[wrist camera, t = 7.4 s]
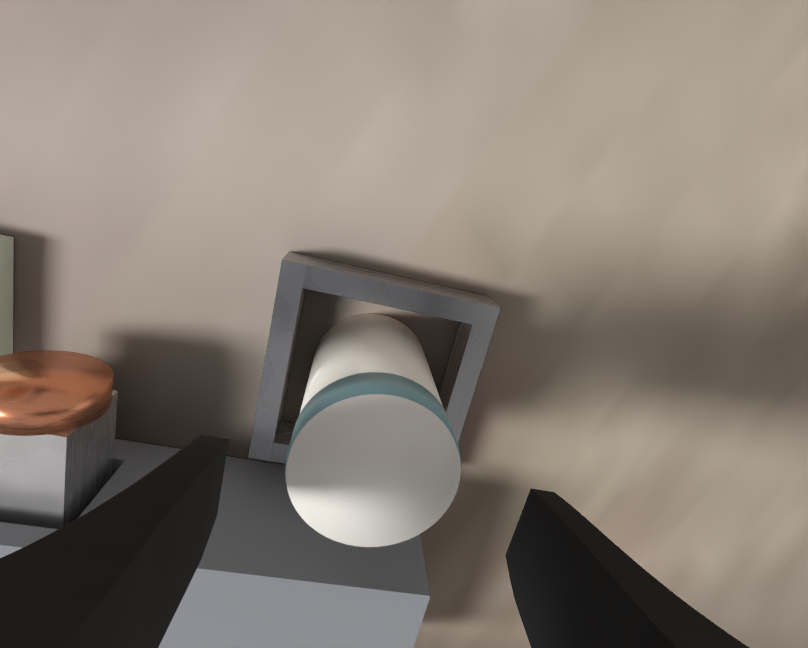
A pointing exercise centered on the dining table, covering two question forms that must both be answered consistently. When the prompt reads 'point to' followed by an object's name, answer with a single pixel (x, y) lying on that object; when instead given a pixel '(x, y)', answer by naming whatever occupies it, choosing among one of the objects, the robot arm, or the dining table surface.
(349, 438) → the cylinder
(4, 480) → the copper knob grey block
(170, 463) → the robot arm
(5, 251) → the tray
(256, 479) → the housing
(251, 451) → the collar
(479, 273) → the dining table surface
